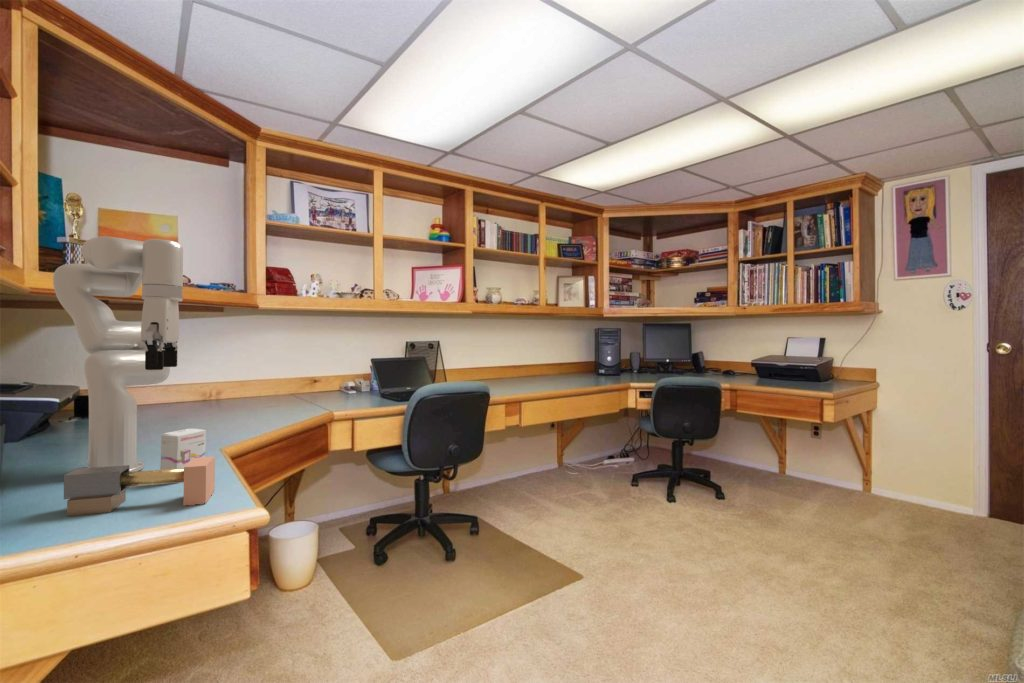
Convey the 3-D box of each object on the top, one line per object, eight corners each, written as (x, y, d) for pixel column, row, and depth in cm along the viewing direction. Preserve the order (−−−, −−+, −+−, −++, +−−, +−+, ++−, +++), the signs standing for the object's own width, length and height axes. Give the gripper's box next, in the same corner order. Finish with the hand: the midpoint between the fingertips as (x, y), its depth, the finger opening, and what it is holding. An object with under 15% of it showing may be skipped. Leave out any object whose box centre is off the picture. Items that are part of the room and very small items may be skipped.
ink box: (176, 484, 112) (176, 435, 112) (159, 482, 113) (159, 434, 113) (206, 474, 121) (206, 428, 121) (190, 472, 122) (190, 427, 122)
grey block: (60, 516, 91) (60, 476, 91) (78, 504, 98) (79, 467, 98) (117, 511, 95) (117, 472, 95) (131, 500, 101) (131, 463, 101)
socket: (183, 506, 98) (183, 467, 98) (194, 493, 106) (194, 457, 106) (205, 503, 100) (206, 465, 100) (214, 492, 107) (215, 456, 107)
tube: (106, 490, 96) (106, 475, 96) (113, 485, 98) (113, 471, 98) (198, 482, 101) (198, 468, 101) (201, 478, 104) (202, 465, 104)
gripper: (156, 296, 114) (155, 365, 114) (127, 289, 98) (126, 371, 98) (192, 297, 117) (191, 365, 117) (169, 291, 101) (169, 370, 101)
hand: (161, 368), depth 108 cm, fingers open, 9 cm apart
